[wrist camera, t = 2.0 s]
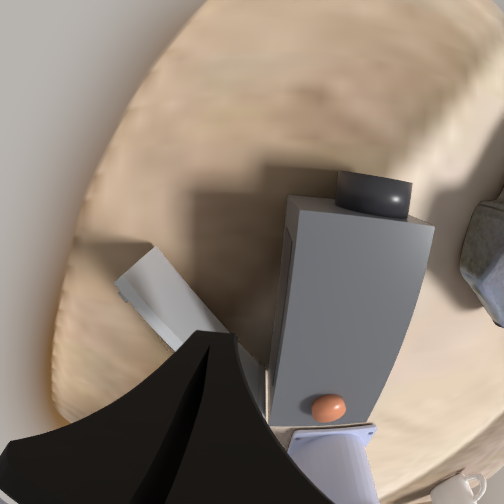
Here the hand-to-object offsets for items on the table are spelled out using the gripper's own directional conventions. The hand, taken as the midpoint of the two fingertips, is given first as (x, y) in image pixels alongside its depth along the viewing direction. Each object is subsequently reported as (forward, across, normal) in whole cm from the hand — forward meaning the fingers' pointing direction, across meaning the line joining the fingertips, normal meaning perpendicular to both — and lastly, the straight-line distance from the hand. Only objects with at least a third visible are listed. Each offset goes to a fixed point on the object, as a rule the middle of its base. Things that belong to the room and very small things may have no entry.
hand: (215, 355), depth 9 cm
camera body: (+8, -6, +2) cm, 10 cm away
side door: (+8, +2, +3) cm, 9 cm away
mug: (+8, -44, +44) cm, 63 cm away
